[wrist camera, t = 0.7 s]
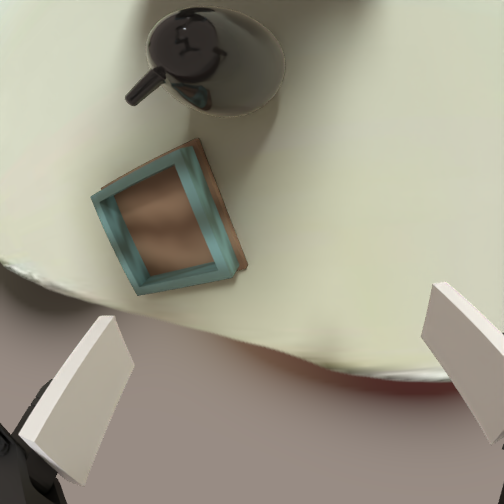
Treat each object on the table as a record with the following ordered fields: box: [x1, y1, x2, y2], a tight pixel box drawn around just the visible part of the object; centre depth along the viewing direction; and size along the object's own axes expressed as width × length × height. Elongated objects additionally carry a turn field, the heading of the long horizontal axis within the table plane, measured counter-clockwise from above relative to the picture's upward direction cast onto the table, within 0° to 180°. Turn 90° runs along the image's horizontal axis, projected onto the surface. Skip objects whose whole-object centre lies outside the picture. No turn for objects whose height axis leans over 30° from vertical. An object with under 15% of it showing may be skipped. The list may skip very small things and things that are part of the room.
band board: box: [91, 138, 248, 296], centre depth 33 cm, size 16×16×4 cm
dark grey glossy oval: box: [125, 6, 285, 118], centre depth 19 cm, size 10×10×15 cm
